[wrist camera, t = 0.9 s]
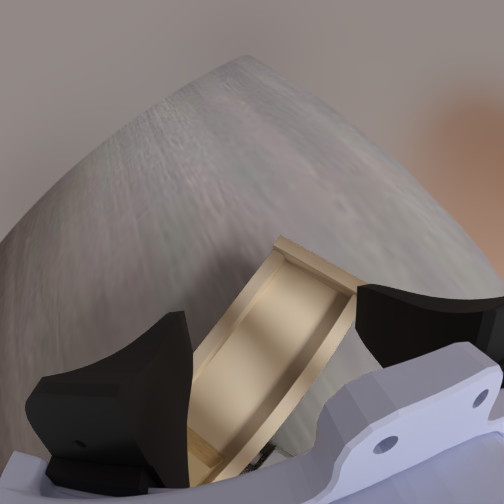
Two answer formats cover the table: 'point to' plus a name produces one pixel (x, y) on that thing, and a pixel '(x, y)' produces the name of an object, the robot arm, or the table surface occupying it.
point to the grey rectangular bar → (275, 457)
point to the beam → (268, 352)
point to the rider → (201, 458)
